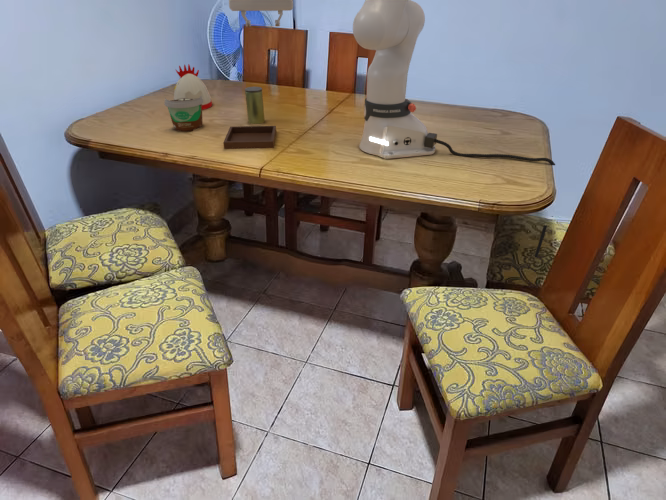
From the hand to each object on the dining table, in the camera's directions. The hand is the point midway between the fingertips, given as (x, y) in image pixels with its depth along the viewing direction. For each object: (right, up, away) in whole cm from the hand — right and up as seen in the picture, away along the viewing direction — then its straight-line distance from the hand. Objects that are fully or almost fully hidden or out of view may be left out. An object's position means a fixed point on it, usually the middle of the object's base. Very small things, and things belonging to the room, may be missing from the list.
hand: (263, 26), depth 150 cm
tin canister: (-4, -29, +9) cm, 30 cm away
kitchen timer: (-31, -18, +27) cm, 44 cm away
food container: (-25, -33, +3) cm, 42 cm away
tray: (-3, -39, -6) cm, 39 cm away
